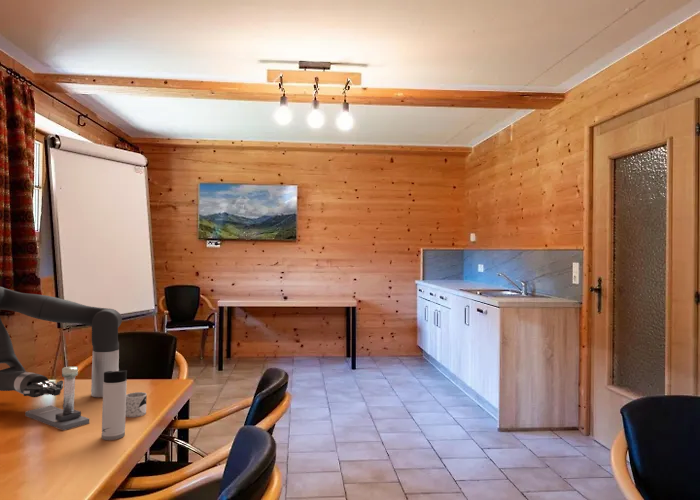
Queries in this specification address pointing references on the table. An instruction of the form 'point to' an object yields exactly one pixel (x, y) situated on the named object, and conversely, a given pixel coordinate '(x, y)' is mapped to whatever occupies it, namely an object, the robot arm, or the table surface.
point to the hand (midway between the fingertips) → (57, 392)
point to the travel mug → (114, 404)
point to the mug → (136, 404)
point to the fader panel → (49, 415)
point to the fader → (69, 395)
